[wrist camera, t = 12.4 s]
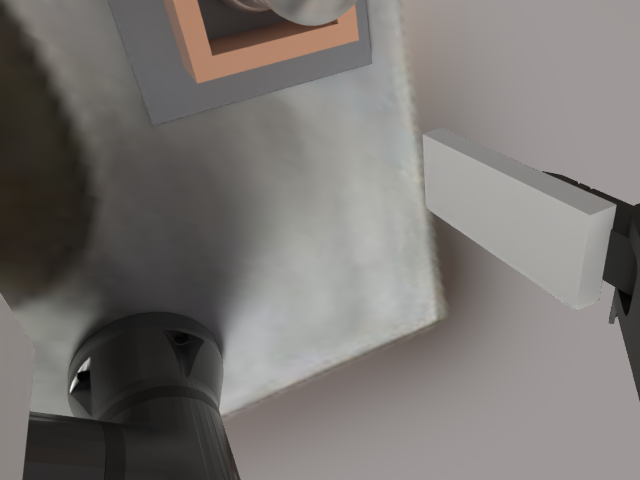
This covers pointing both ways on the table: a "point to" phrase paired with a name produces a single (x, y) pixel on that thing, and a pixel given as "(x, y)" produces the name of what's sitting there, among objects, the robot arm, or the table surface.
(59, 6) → the table surface
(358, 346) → the table surface
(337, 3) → the silver bottle
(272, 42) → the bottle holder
